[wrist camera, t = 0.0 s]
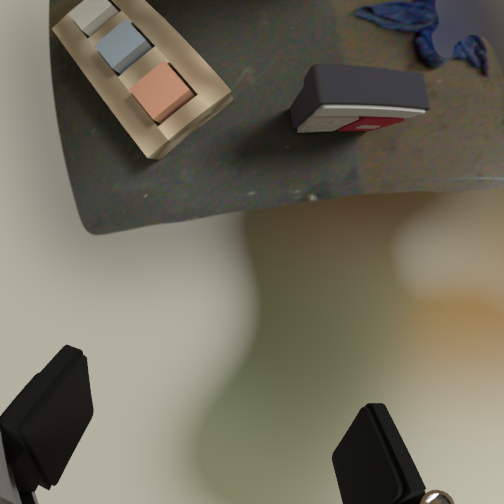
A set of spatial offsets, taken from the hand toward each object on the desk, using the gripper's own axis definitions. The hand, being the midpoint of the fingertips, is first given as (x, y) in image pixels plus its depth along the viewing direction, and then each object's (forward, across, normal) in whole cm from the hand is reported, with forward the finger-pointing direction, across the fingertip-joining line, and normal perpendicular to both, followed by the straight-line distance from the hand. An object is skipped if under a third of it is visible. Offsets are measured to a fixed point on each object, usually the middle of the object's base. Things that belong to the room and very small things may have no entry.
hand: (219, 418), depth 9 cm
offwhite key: (+27, +26, -26) cm, 46 cm away
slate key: (+27, +19, -21) cm, 39 cm away
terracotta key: (+27, +12, -15) cm, 33 cm away
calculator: (+31, -8, -17) cm, 37 cm away
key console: (+31, +19, -21) cm, 42 cm away
